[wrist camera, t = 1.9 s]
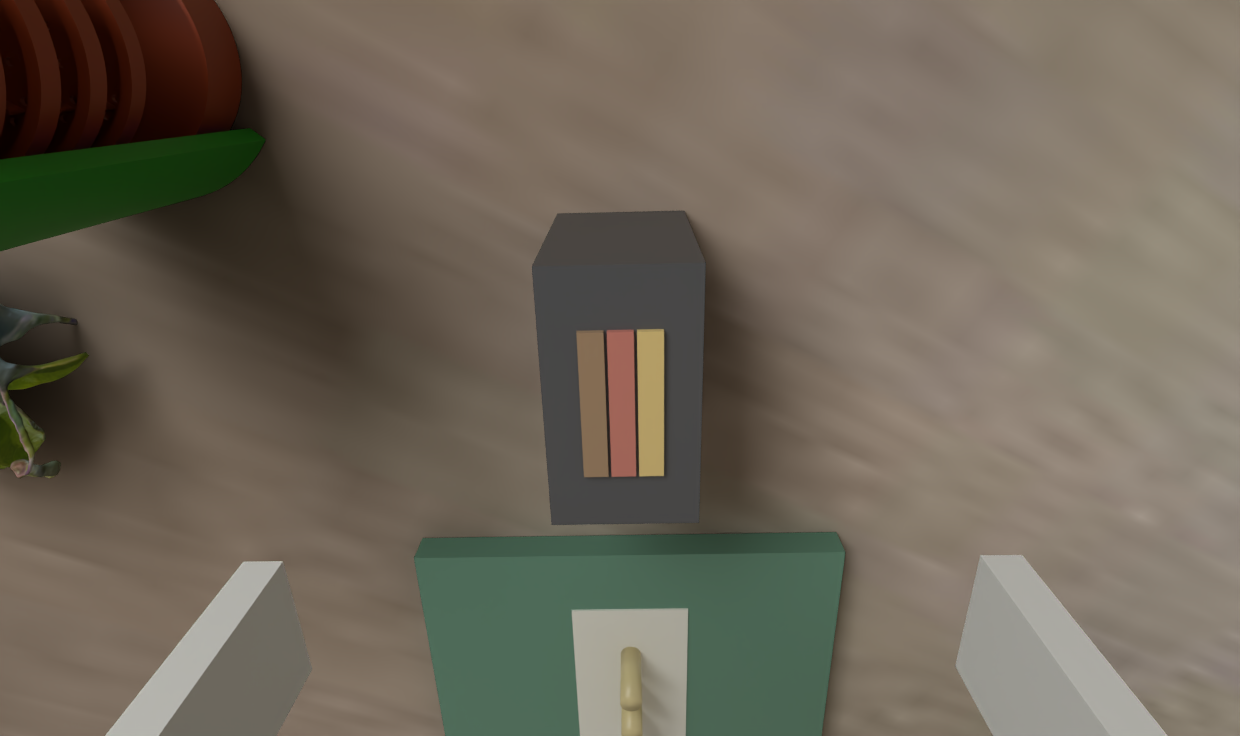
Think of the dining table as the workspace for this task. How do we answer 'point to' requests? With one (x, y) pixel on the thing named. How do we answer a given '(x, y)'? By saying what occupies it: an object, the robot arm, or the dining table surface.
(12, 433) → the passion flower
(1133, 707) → the robot arm
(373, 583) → the dining table surface
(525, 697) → the header board
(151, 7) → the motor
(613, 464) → the plug housing
